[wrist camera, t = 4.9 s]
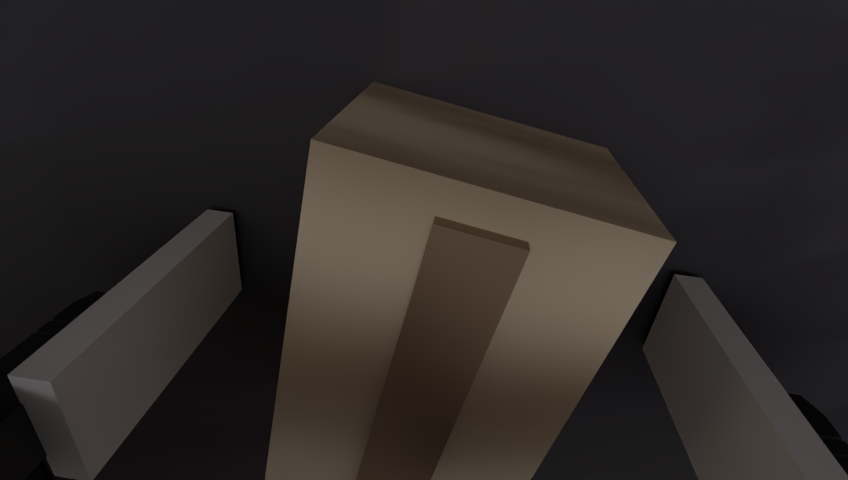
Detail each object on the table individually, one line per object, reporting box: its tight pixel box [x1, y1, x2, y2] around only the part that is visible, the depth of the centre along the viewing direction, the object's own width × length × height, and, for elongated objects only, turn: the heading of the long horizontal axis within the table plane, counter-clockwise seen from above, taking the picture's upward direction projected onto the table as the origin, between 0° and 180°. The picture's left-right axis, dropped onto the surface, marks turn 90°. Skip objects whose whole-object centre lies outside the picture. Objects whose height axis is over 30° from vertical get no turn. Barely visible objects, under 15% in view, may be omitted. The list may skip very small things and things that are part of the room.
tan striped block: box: [265, 82, 677, 480], centre depth 12 cm, size 10×6×5 cm, turn 166°
